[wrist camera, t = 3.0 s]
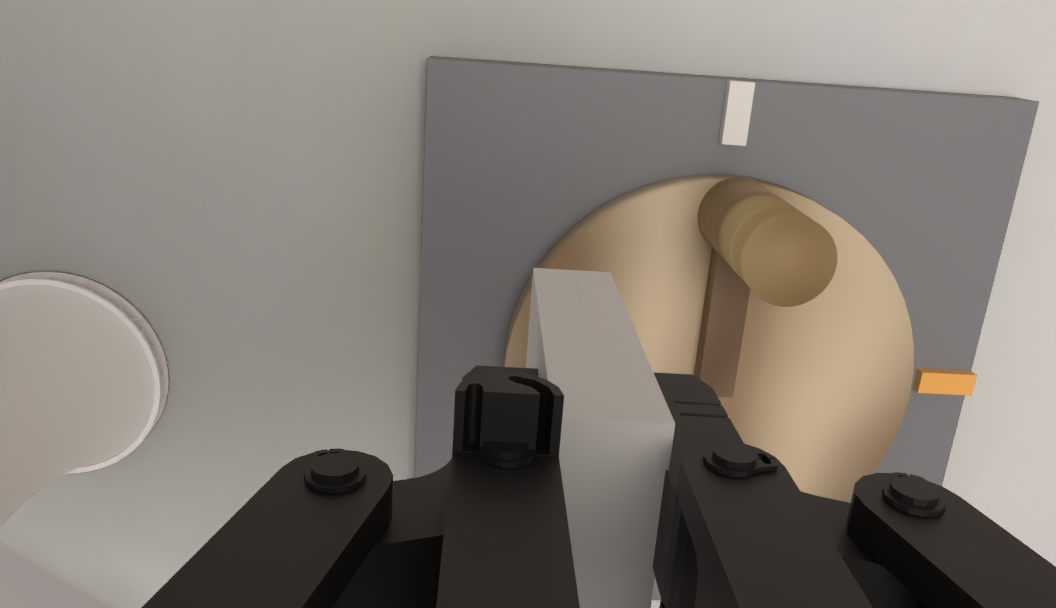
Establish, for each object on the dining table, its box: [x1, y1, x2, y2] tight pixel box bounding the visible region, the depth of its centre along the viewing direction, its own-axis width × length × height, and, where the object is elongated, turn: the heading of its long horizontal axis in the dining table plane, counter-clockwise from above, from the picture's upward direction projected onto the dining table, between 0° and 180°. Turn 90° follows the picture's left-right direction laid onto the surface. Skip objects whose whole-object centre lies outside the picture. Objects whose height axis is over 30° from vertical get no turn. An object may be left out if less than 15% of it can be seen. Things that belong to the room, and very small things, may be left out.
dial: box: [503, 175, 914, 502], centre depth 28 cm, size 14×14×7 cm
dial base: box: [414, 56, 1039, 600], centre depth 32 cm, size 20×20×2 cm
